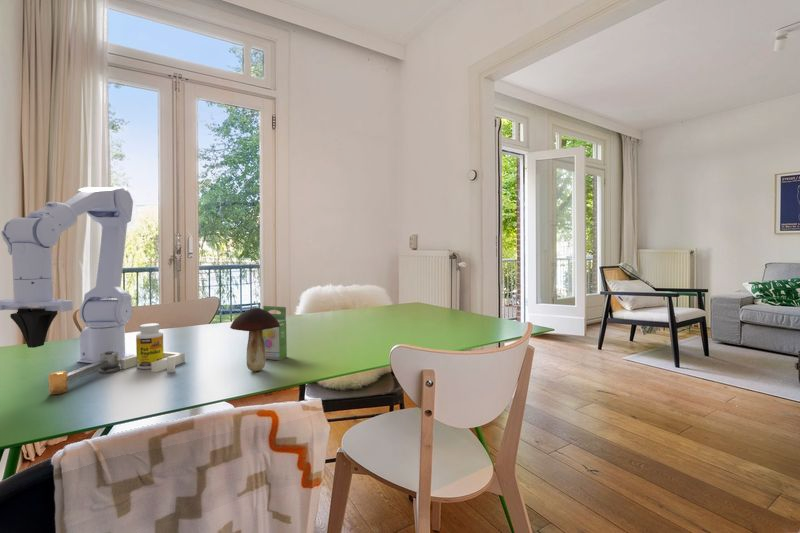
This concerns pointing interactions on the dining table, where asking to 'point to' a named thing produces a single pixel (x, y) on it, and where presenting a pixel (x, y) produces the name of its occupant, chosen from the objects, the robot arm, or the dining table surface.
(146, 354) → the supplement bottle
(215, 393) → the dining table surface
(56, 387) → the gold-tipped lever
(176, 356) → the socket
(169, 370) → the post
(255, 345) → the decorative mushroom
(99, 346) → the robot arm
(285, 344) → the ink box
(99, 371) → the mount
